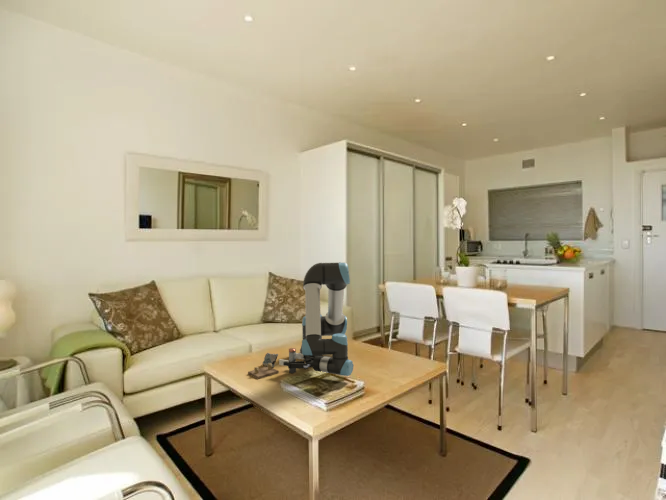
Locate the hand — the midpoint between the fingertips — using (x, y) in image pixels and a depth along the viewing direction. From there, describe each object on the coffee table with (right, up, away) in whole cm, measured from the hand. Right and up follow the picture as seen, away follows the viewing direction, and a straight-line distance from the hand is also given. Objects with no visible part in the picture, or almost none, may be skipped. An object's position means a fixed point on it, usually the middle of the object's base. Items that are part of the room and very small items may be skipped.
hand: (286, 358), depth 196 cm
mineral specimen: (-9, -7, +10) cm, 16 cm away
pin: (+3, -7, -2) cm, 8 cm away
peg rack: (-11, -7, -3) cm, 14 cm away
